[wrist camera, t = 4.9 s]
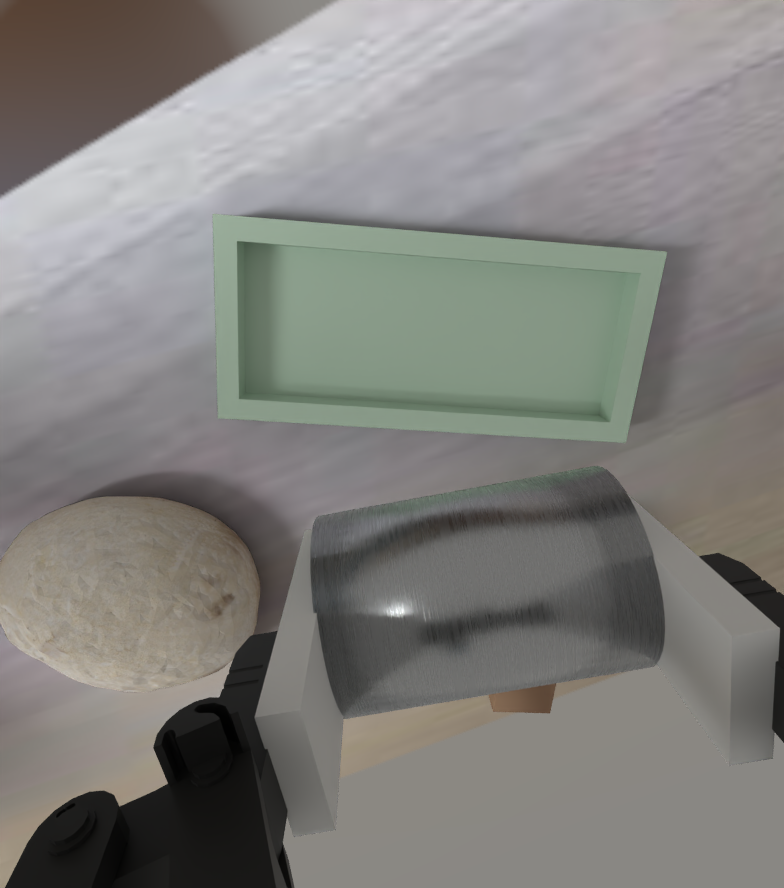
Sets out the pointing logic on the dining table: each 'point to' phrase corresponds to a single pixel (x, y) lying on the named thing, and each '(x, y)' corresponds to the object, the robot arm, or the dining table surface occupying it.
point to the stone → (129, 592)
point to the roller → (484, 592)
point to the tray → (429, 329)
